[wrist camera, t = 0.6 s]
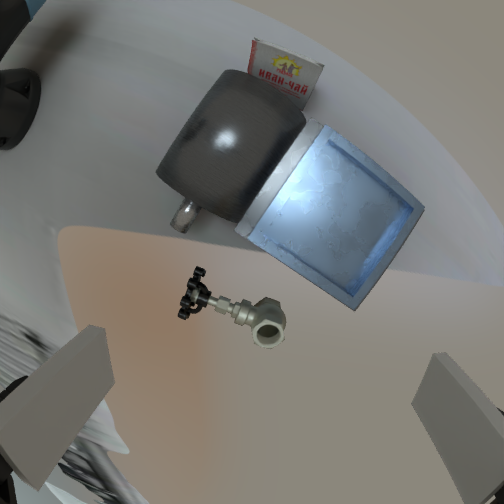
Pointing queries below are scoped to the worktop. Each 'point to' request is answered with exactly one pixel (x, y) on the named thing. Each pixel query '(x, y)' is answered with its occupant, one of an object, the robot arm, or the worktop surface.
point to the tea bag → (284, 70)
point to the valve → (238, 311)
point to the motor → (289, 187)
